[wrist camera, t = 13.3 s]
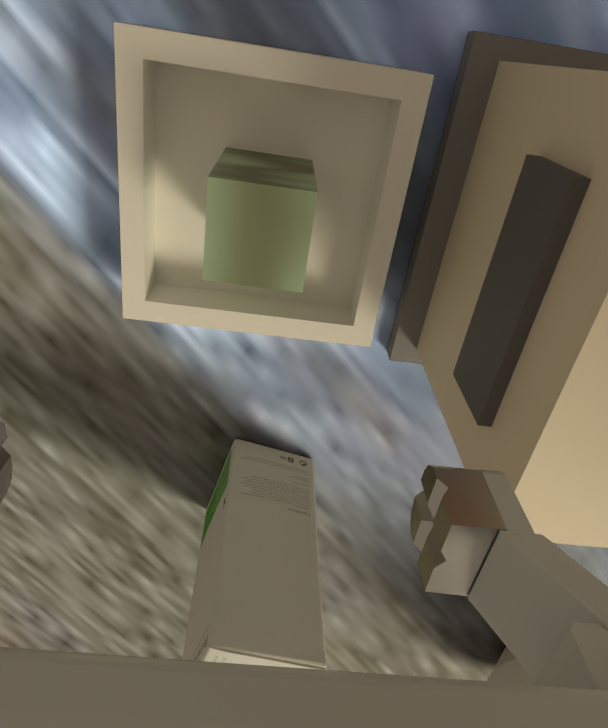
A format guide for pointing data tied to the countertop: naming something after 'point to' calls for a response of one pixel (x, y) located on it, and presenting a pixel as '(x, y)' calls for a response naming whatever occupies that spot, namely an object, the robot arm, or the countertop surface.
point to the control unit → (520, 279)
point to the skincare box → (259, 565)
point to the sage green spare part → (259, 220)
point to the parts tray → (267, 135)
